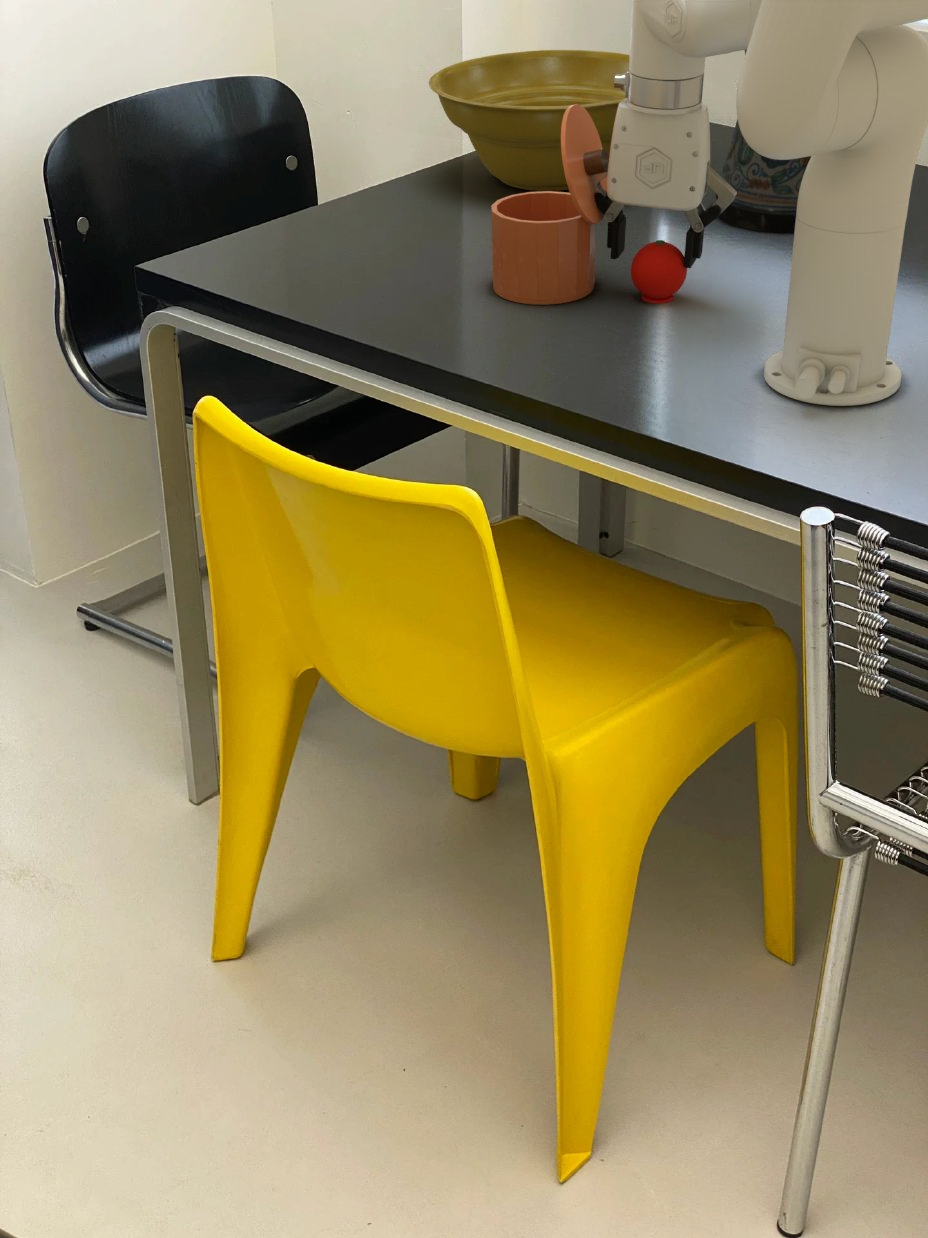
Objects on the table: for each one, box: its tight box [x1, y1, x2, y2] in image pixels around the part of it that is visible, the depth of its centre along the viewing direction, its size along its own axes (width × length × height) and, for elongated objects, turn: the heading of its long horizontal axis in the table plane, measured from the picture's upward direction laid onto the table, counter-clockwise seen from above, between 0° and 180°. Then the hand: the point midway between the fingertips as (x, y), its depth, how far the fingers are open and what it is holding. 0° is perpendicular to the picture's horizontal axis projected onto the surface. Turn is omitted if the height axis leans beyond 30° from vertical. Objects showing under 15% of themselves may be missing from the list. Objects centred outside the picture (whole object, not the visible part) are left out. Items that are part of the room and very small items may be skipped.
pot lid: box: [561, 104, 609, 224], centre depth 149 cm, size 12×12×3 cm
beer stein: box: [715, 50, 811, 234], centre depth 170 cm, size 16×19×25 cm
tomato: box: [630, 239, 688, 305], centre depth 153 cm, size 6×6×6 cm
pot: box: [490, 191, 597, 306], centre depth 156 cm, size 11×11×9 cm
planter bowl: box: [428, 49, 630, 192], centre depth 190 cm, size 32×32×13 cm
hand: (653, 258), depth 153 cm, fingers open, 7 cm apart
